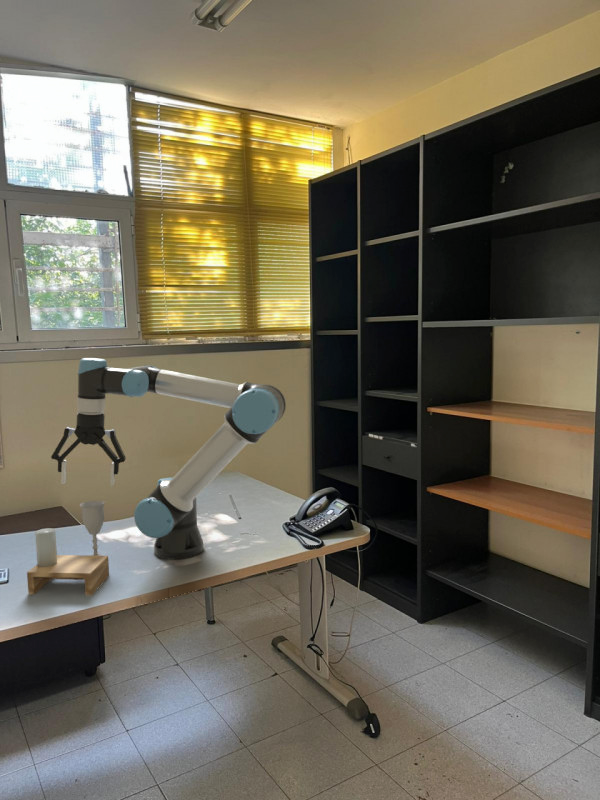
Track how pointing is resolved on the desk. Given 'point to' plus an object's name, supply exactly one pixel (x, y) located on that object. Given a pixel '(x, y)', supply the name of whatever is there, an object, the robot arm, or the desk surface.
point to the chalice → (93, 520)
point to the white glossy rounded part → (46, 547)
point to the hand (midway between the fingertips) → (88, 484)
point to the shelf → (71, 572)
